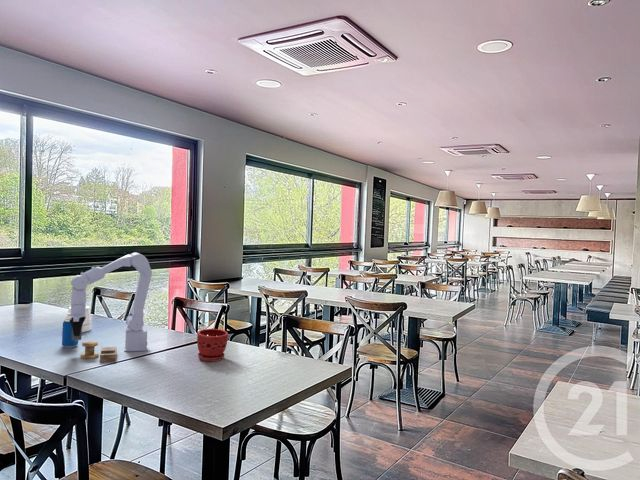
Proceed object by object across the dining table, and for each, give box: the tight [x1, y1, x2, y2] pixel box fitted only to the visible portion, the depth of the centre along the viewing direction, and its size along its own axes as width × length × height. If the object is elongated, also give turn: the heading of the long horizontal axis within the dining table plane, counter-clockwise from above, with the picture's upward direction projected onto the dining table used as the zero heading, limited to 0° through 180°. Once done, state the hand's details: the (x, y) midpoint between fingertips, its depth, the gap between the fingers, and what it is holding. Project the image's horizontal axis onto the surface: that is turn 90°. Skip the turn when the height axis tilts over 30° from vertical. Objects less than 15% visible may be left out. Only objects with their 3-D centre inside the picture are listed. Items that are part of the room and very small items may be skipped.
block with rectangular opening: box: [99, 346, 118, 363], centre depth 202 cm, size 6×12×3 cm, turn 22°
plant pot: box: [196, 328, 229, 362], centre depth 209 cm, size 13×13×12 cm
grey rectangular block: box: [72, 327, 83, 341], centre depth 204 cm, size 4×4×7 cm
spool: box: [79, 340, 100, 360], centre depth 202 cm, size 7×7×6 cm
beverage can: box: [61, 319, 79, 349], centre depth 216 cm, size 6×6×12 cm
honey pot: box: [64, 305, 92, 333], centre depth 246 cm, size 13×13×18 cm
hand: (77, 334), depth 204 cm, fingers closed on grey rectangular block, 3 cm apart
